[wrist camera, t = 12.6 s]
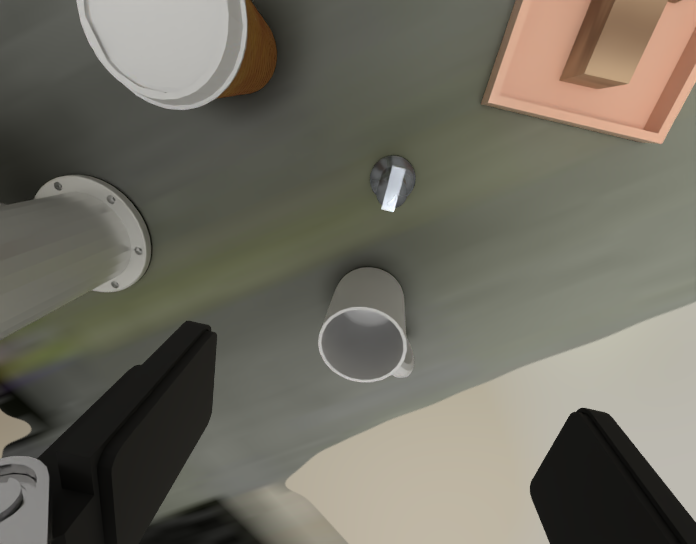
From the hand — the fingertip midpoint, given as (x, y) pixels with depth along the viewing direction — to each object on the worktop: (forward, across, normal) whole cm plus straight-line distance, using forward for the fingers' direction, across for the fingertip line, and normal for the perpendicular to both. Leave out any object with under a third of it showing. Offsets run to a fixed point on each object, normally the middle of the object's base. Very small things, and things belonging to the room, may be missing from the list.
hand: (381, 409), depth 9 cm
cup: (+26, -2, +10) cm, 28 cm away
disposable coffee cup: (+27, +14, -10) cm, 32 cm away
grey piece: (+26, 0, -3) cm, 26 cm away
